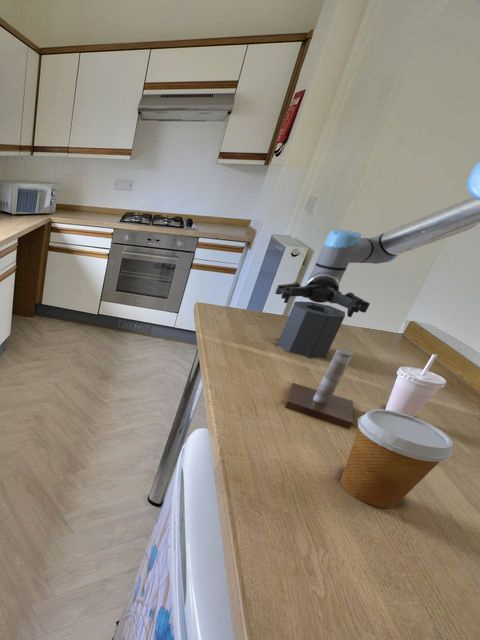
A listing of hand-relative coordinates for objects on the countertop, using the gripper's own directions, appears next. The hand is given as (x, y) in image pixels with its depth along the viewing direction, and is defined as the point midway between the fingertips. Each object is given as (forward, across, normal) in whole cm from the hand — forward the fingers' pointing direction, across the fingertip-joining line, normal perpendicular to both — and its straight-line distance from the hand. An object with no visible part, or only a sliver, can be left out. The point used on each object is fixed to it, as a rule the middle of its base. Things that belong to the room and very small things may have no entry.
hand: (318, 304), depth 108 cm
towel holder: (+40, -5, -10) cm, 41 cm away
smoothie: (+32, -17, -11) cm, 38 cm away
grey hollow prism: (+10, 0, -10) cm, 14 cm away
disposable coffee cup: (+64, -12, -10) cm, 66 cm away
